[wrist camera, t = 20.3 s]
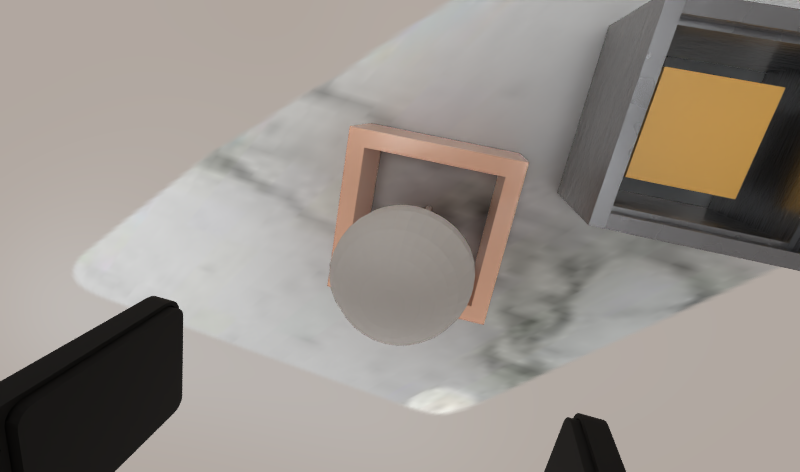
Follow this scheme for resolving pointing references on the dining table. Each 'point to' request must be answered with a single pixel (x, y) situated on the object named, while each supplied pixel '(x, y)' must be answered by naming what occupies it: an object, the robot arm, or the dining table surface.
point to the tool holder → (505, 164)
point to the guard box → (628, 102)
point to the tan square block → (702, 131)
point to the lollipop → (402, 274)
